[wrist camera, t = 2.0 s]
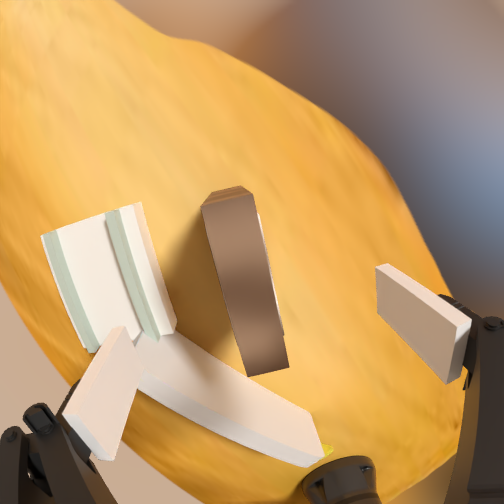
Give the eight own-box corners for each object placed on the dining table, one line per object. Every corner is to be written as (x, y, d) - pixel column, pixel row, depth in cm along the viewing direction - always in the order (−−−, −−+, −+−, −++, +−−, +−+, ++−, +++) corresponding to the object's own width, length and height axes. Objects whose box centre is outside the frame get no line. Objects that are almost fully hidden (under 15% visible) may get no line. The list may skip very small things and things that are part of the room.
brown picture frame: (266, 292, 33) (292, 366, 20) (236, 299, 33) (244, 377, 20) (243, 185, 30) (257, 192, 16) (209, 192, 30) (196, 207, 16)
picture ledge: (177, 320, 33) (171, 340, 29) (92, 335, 33) (79, 354, 28) (141, 201, 29) (127, 206, 25) (53, 230, 29) (33, 238, 25)
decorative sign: (136, 330, 34) (112, 380, 24) (152, 310, 33) (130, 358, 23) (313, 434, 41) (328, 480, 31) (330, 421, 40) (349, 467, 31)
